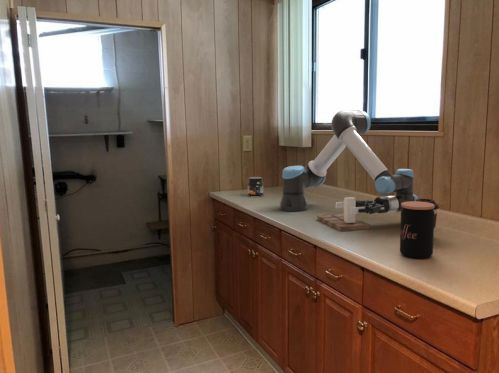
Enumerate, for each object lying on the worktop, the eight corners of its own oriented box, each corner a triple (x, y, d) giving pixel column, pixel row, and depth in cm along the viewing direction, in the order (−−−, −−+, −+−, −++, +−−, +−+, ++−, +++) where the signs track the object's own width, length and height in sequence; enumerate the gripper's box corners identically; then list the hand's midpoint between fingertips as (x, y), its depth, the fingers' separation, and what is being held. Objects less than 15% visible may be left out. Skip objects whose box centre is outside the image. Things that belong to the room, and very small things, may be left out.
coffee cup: (440, 240, 160) (441, 202, 158) (413, 239, 162) (414, 202, 160) (434, 233, 170) (435, 197, 168) (408, 233, 172) (409, 197, 170)
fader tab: (343, 221, 184) (344, 197, 183) (351, 221, 185) (352, 196, 184) (347, 223, 182) (347, 198, 180) (355, 222, 183) (355, 198, 181)
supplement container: (244, 195, 275) (244, 178, 273) (256, 193, 282) (255, 176, 280) (255, 197, 267) (255, 179, 266) (266, 195, 274) (266, 177, 273)
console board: (317, 219, 200) (317, 215, 200) (343, 217, 204) (343, 213, 203) (340, 231, 177) (340, 226, 177) (369, 228, 181) (369, 223, 180)
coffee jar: (394, 251, 148) (395, 201, 145) (423, 249, 149) (424, 200, 146) (408, 260, 138) (409, 207, 135) (438, 259, 138) (441, 206, 136)
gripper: (402, 218, 176) (357, 222, 170) (370, 207, 200) (330, 211, 194) (402, 201, 175) (357, 204, 169) (370, 192, 198) (330, 195, 193)
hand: (342, 208), depth 182 cm, fingers open, 13 cm apart
